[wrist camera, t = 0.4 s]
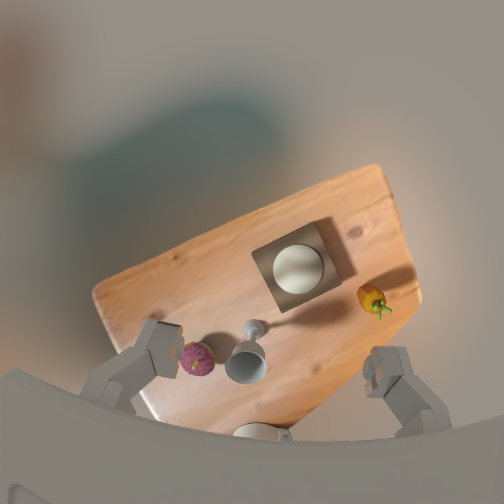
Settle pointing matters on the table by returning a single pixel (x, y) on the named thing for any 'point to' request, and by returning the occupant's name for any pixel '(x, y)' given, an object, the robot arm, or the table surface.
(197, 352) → the cupcake
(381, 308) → the carrot
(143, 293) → the table surface
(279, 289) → the walnut plinth
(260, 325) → the chalice
